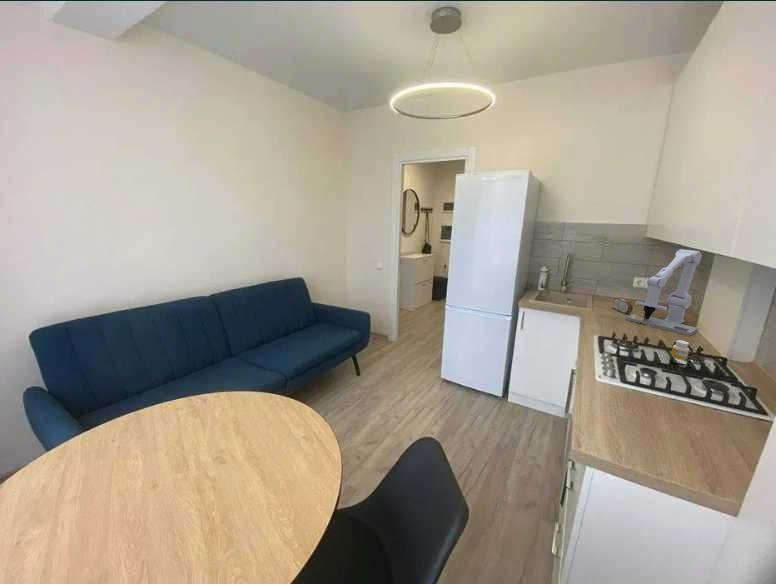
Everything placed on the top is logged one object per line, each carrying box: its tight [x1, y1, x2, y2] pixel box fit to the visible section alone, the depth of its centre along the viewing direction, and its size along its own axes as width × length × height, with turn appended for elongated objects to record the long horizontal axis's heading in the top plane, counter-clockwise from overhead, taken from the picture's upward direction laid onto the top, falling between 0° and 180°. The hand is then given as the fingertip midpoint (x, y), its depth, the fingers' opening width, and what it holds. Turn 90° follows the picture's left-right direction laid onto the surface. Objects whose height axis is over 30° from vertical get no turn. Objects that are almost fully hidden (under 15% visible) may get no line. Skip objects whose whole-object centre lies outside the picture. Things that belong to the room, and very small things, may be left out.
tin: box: [613, 297, 633, 314], centre depth 213 cm, size 15×3×8 cm, turn 179°
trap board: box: [625, 313, 699, 337], centre depth 188 cm, size 14×30×2 cm, turn 35°
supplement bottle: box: [670, 339, 690, 360], centre depth 139 cm, size 5×5×10 cm
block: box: [635, 310, 646, 320], centre depth 192 cm, size 4×4×4 cm
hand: (647, 319), depth 190 cm, fingers closed
